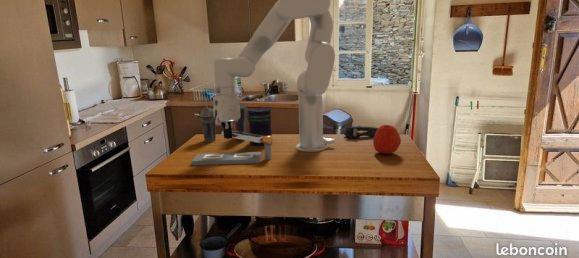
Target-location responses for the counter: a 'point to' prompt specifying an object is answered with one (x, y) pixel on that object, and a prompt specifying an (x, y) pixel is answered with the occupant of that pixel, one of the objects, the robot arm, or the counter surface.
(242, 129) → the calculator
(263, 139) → the swing arm
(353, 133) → the can opener
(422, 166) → the counter surface
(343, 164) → the counter surface
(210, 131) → the beverage cup
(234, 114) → the robot arm
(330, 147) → the counter surface
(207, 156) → the label board
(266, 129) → the blue oil drum
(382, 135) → the apple
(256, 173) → the counter surface
